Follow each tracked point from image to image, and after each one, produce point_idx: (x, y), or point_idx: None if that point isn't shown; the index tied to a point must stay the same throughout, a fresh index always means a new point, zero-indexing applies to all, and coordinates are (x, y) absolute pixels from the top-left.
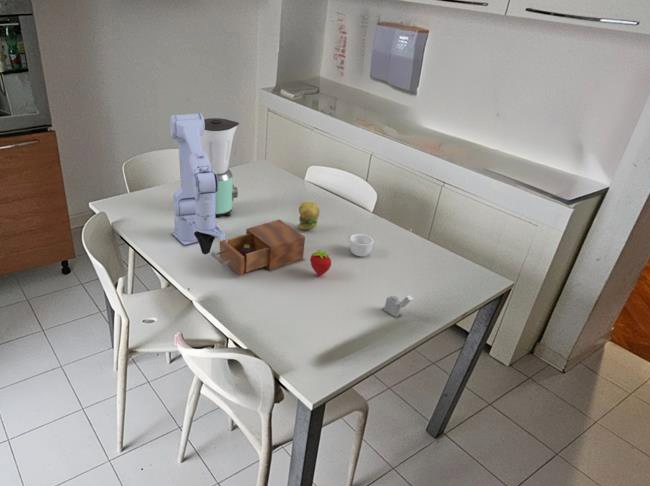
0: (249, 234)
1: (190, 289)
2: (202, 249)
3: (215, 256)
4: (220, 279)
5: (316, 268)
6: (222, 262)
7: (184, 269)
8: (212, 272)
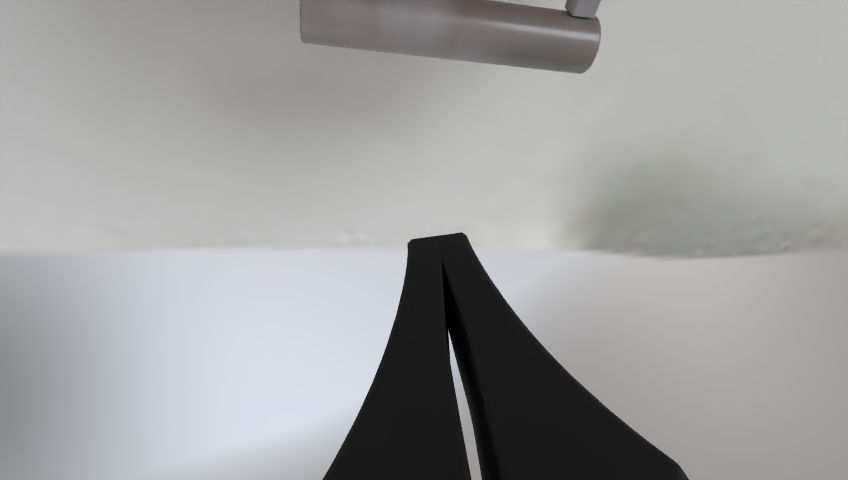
0: None
1: None
2: (449, 353)
3: (406, 51)
4: None
5: None
6: (574, 70)
7: (217, 167)
8: None
